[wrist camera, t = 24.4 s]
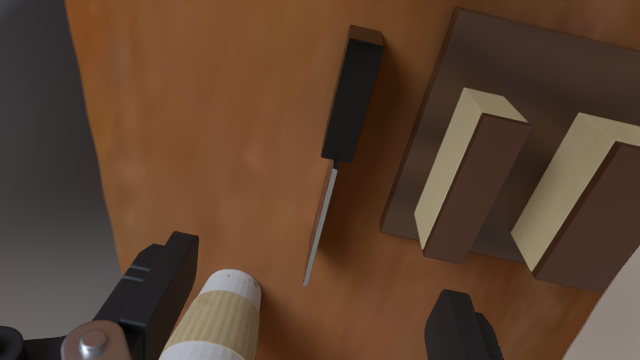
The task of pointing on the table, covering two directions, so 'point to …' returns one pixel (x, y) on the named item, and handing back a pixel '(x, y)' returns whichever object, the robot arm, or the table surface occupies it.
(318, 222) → the knife
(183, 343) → the coffee cup
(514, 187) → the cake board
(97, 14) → the table surface
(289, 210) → the table surface
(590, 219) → the cake
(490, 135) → the cake slice
